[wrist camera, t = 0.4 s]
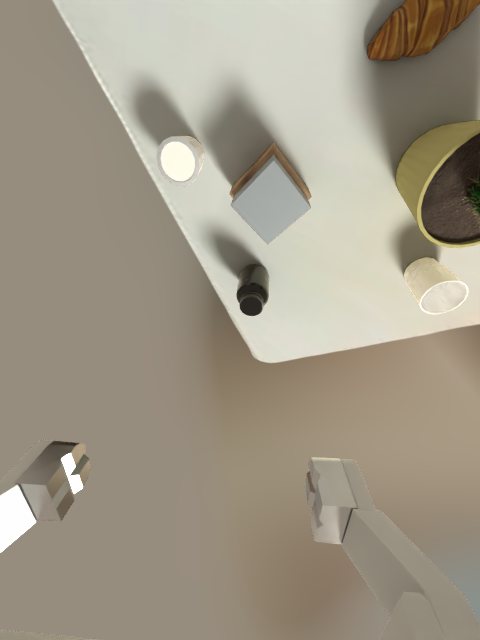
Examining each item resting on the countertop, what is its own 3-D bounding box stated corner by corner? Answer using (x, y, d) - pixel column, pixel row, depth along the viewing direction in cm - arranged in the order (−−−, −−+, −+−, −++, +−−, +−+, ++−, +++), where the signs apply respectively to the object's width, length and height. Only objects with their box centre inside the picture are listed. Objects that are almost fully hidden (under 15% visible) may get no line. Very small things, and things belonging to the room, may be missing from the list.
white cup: (396, 265, 56) (416, 291, 49) (438, 247, 53) (466, 273, 45) (404, 291, 60) (423, 319, 53) (444, 276, 57) (470, 304, 49)
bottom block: (273, 142, 44) (273, 146, 40) (308, 188, 48) (311, 196, 44) (232, 186, 49) (229, 193, 45) (267, 225, 53) (266, 235, 50)
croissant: (486, -57, 30) (517, -79, 26) (479, 23, 34) (506, 14, 30) (360, 19, 34) (371, 10, 30) (367, 83, 38) (378, 81, 34)
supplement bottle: (275, 273, 60) (275, 305, 51) (257, 292, 64) (254, 325, 55) (251, 257, 58) (247, 287, 49) (234, 277, 62) (228, 309, 53)
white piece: (163, 159, 47) (149, 168, 42) (179, 120, 43) (167, 124, 38) (196, 184, 49) (187, 195, 44) (215, 149, 45) (207, 157, 40)
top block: (273, 154, 41) (273, 160, 37) (307, 198, 45) (311, 207, 41) (233, 196, 45) (230, 205, 42) (267, 232, 49) (267, 244, 45)
